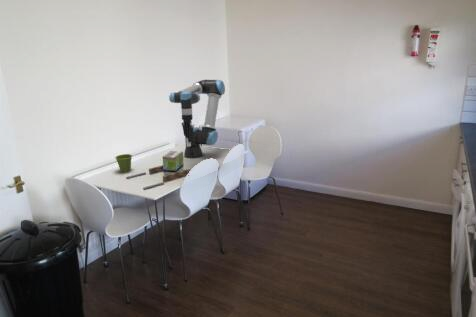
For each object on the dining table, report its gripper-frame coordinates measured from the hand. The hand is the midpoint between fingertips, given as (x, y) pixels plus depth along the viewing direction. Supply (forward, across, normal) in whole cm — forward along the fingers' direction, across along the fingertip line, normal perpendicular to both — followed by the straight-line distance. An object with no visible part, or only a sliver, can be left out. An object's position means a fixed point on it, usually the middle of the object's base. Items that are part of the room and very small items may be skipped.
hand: (188, 146), depth 256 cm
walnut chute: (+18, 0, -17) cm, 25 cm away
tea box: (+18, 0, -14) cm, 23 cm away
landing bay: (+18, 0, -37) cm, 41 cm away
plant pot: (+18, -29, -38) cm, 51 cm away
